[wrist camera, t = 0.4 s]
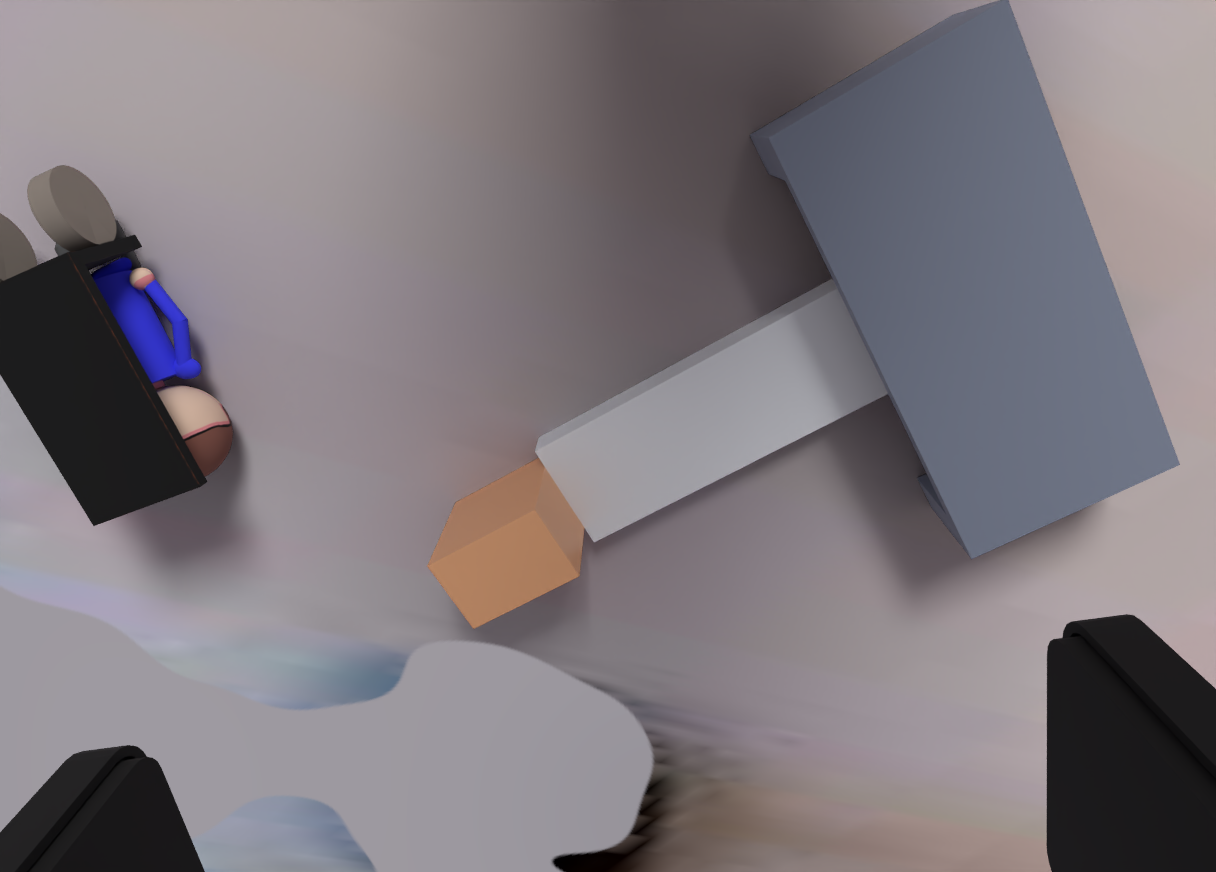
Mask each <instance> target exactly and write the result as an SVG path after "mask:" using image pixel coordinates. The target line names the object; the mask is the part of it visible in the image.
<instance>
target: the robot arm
mask: <svg viewBox="0 0 1216 872" xmlns="http://www.w3.org/2000/svg"><path fill="white" fill-rule="evenodd" d="M1047 854H1048V859H1049V864H1050V867H1051V870H1052V872H1216V689H1215V688H1214V687H1213V686H1212V685H1211V684H1210V683H1209V682H1208V681H1206V680H1205V679H1204V678H1203V677H1202V676H1201V675H1200V674H1199V673H1198V672H1197V671H1196V670H1194V669H1193V668H1192V667H1191V666H1190V665H1189V664H1188V663H1187V662H1186V661H1185V660H1184V659H1183V658H1181V657H1180V656H1179V655H1178V654H1177V653H1176V652H1175V651H1174V650H1173V649H1172V648H1171V647H1170V646H1168V645H1167V644H1166V643H1165V642H1164V641H1163V640H1162V639H1161V638H1160V637H1159V636H1158V635H1156V634H1155V633H1154V632H1153V631H1152V630H1151V629H1150V628H1149V627H1148V626H1147V625H1146V624H1145V623H1143V622H1142V621H1141V620H1140V619H1138V618H1137V617H1135V616H1134V615H1127V614H1126V615H1119V616H1111V617H1103V618H1096V619H1088V620H1080V621H1073V622H1070V623H1068V624H1067V625H1066V627H1065V629H1064V631H1063V638H1060V639H1053V640H1052V641H1050V643H1049V645H1048V651H1047ZM0 872H205V871H204V869H203V866H202V864H201V862H200V859H199V857H198V854H197V852H196V850H195V847H194V845H193V843H192V840H191V838H190V836H189V833H188V831H187V828H186V826H185V823H184V821H183V819H182V816H181V814H180V811H179V809H178V807H177V804H176V802H175V800H174V797H173V795H172V792H171V790H170V788H169V785H168V783H167V781H166V778H165V776H164V773H163V771H162V769H161V767H160V765H159V763H158V762H157V761H156V760H155V759H153V758H149V757H147V756H146V755H145V753H144V752H143V751H142V750H141V749H139V748H138V747H136V746H130V745H127V746H119V747H112V748H104V749H97V750H89V751H82V752H79V753H76V754H73V755H72V756H71V757H70V758H68V759H67V760H66V761H65V762H64V763H63V764H62V765H61V766H60V767H59V769H58V770H57V771H56V772H55V773H54V774H53V775H52V776H51V777H50V778H49V779H48V781H47V782H46V783H45V784H44V785H43V786H42V787H41V788H40V789H39V790H38V792H37V793H36V794H35V795H34V796H33V797H32V798H31V799H30V800H29V801H28V803H27V804H26V805H25V806H24V807H23V808H22V809H21V810H20V811H19V812H18V814H17V815H16V816H15V817H14V818H13V819H12V820H11V821H10V822H9V823H8V825H7V826H6V827H5V828H4V829H3V830H2V831H1V832H0Z"/></svg>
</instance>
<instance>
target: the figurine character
mask: <svg viewBox="0 0 1216 872" xmlns="http://www.w3.org/2000/svg"><path fill="white" fill-rule="evenodd" d="M27 194H28V200H29V204H30V207H31V210H32V212H33V214H34V216H35V218H36V220H37V221H38V223H39V224H40V226H41V227H42V228H43V230H44V231H45V232H46V233H47V234H48V235H49V237H50V238H51V239H53V240H54V241H55V242H56V245H55V251H56V253H57V255H58V257H56V258H53V259H51V260H49V261H47V262H44V263H42V264H40V265H38V266H37V260H36V256H35V253H34V251H33V248H32V246H31V245H30V243H29V241H28V239H27V238H26V237H25V235H24V234H23V233H22V231H21V230H20V229H19V228H18V227H17V226H16V225H15V224H14V223H13V222H12V221H11V220H9V219H8V218H7V217H5V216H4V215H2V214H0V375H1V376H2V378H3V380H4V381H5V383H6V385H7V386H8V388H9V389H10V391H11V393H12V394H13V396H14V397H15V399H16V401H17V402H18V404H19V406H20V407H21V409H22V410H23V412H24V414H25V415H26V417H27V419H28V420H29V422H30V423H31V425H32V427H33V428H34V430H35V432H36V433H37V435H38V436H39V438H40V440H41V441H42V443H43V445H44V446H45V448H46V449H47V451H48V453H49V454H50V456H51V458H52V459H53V461H54V462H55V464H56V466H57V467H58V469H59V471H60V472H61V474H62V475H63V477H64V479H65V480H66V482H67V484H68V485H69V487H70V488H71V490H72V492H73V493H74V495H75V497H76V498H77V500H78V501H79V503H80V505H81V506H82V508H83V510H84V511H85V513H86V514H87V516H88V518H89V519H90V521H91V522H92V524H93V526H95V525H98V524H101V523H103V522H106V521H109V520H111V519H114V518H117V517H119V516H122V515H125V514H128V513H130V512H133V511H136V510H138V509H141V508H144V507H147V506H149V505H152V504H155V503H157V502H160V501H163V500H166V499H168V498H171V497H174V496H176V495H179V494H182V493H185V492H187V491H190V490H193V489H195V488H198V487H201V486H202V485H204V484H205V483H206V482H207V480H206V478H205V476H207V475H209V474H210V473H212V472H213V471H214V470H216V469H217V468H218V467H219V466H220V465H221V464H222V462H223V461H224V460H225V458H226V457H227V455H228V453H229V450H230V448H231V444H232V438H233V429H232V424H231V420H230V418H229V415H228V413H227V412H226V410H225V408H224V407H223V406H222V405H221V403H220V402H219V401H218V400H216V399H215V398H214V397H213V396H211V395H210V394H208V393H206V392H204V391H202V390H200V389H197V388H193V387H189V386H167V387H163V386H165V384H164V382H163V381H165V380H167V379H170V378H172V377H174V376H177V377H179V378H182V379H192V378H195V377H197V376H198V375H199V374H200V372H201V366H200V364H199V363H198V362H197V361H196V360H194V359H192V358H191V348H190V338H189V328H188V320H187V318H186V317H185V316H184V314H183V313H182V312H181V311H180V309H179V308H178V307H177V306H176V304H175V303H174V302H173V301H172V299H171V298H170V297H169V296H168V294H167V293H166V292H165V291H164V289H163V288H162V287H161V286H160V284H159V283H158V282H157V281H156V280H155V277H154V275H153V273H152V272H151V271H150V270H148V269H146V268H141V265H140V263H139V261H138V259H137V257H136V255H135V253H134V251H133V250H136V249H138V248H140V247H142V246H141V244H140V242H139V241H138V239H137V237H136V236H135V235H132V236H129V237H126V236H125V234H124V232H123V230H122V228H121V227H120V225H119V223H118V221H116V220H115V217H114V214H113V212H112V209H111V207H110V205H109V203H108V201H107V200H106V198H105V197H104V195H103V194H102V192H101V191H100V190H99V188H98V187H97V186H96V185H95V184H94V183H93V182H92V181H91V180H90V179H89V178H88V177H87V176H85V175H84V174H83V173H81V172H80V171H78V170H76V169H74V168H72V167H69V166H64V165H61V166H57V167H55V168H53V169H50V170H48V171H46V172H44V173H42V174H40V175H38V176H36V177H34V178H32V179H31V180H30V182H29V184H28V189H27ZM120 256H121V257H122V258H120V259H118V260H116V261H114V262H112V263H110V264H108V265H106V266H104V267H102V268H100V269H98V270H96V271H95V272H93V273H92V274H90V272H89V270H90V269H92V268H95V267H97V266H99V265H102V264H104V263H106V262H108V261H111V260H113V259H115V258H117V257H120ZM144 290H145V291H146V292H147V293H148V295H149V296H150V297H151V298H152V300H153V301H154V302H155V303H156V305H157V306H158V307H159V308H160V310H161V311H162V312H163V313H164V315H165V316H166V317H167V318H168V320H169V321H170V322H171V323H172V327H173V337H174V347H175V349H174V347H173V345H172V343H171V342H170V340H169V338H168V336H167V334H166V332H165V330H164V328H163V326H162V325H161V323H160V321H159V319H158V317H157V315H156V313H155V311H154V309H153V308H152V306H151V304H150V302H149V300H148V298H147V296H146V294H145V292H144ZM161 387H162V388H161Z"/></svg>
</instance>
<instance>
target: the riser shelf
mask: <svg viewBox="0 0 1216 872" xmlns="http://www.w3.org/2000/svg"><path fill="white" fill-rule="evenodd" d="M750 137H751V139H752V141H753V143H754V145H755V147H756V149H757V152H758V154H759V156H760V158H761V160H762V162H763V164H764V166H765V168H766V170H767V172H768V174H770V175H772V176H775V177H777V178H780V179H782V180H785V181H786V183H787V186H788V188H789V190H790V192H791V194H792V196H793V198H794V200H795V202H796V204H797V206H798V208H799V210H800V212H801V215H802V217H803V219H804V221H805V223H806V225H807V227H808V229H809V231H810V233H811V235H812V237H813V239H814V241H815V243H816V246H817V248H818V250H819V252H820V254H821V256H822V258H823V260H824V262H825V264H826V266H827V268H828V270H829V272H830V275H831V277H832V279H833V281H834V283H835V285H836V287H837V289H838V291H839V293H840V295H841V297H842V299H843V301H844V303H845V306H846V308H847V310H848V312H849V314H850V316H851V318H852V320H853V322H854V324H855V326H856V328H857V330H858V332H859V335H860V337H861V339H862V341H863V343H864V345H865V347H866V349H867V351H868V353H869V355H870V357H871V359H872V361H873V363H874V366H875V368H876V370H877V372H878V374H879V376H880V378H881V380H882V382H883V384H884V386H885V388H886V390H887V392H888V395H889V397H890V399H891V401H892V403H893V405H894V407H895V409H896V411H897V413H898V415H899V417H900V419H901V421H902V423H903V426H904V428H905V430H906V432H907V434H908V436H909V438H910V440H911V442H912V444H913V446H914V448H915V450H916V452H917V455H918V457H919V459H920V461H921V463H922V465H923V467H924V469H925V471H926V473H927V474H925V475H923V476H920V477H918V478H917V479H918V481H919V483H920V485H921V487H922V489H923V491H924V493H925V495H926V497H927V499H928V501H929V504H930V506H931V508H932V509H933V510H934V511H935V513H936V514H937V515H938V517H939V518H940V519H941V520H942V522H943V523H944V524H945V526H946V527H947V528H948V529H949V531H950V532H951V533H952V535H953V536H954V537H955V538H956V540H957V541H958V542H959V544H960V545H961V546H962V547H963V549H964V550H965V551H966V553H967V554H968V555H969V556H970V558H971V559H973V558H975V557H978V556H980V555H982V554H984V553H986V552H989V551H991V550H993V549H995V548H997V547H1000V546H1002V545H1004V544H1006V543H1008V542H1011V541H1013V540H1015V539H1017V538H1019V537H1022V536H1024V535H1026V534H1028V533H1030V532H1033V531H1035V530H1037V529H1039V528H1041V527H1044V526H1046V525H1048V524H1050V523H1052V522H1055V521H1057V520H1059V519H1061V518H1063V517H1066V516H1068V515H1070V514H1072V513H1074V512H1077V511H1079V510H1081V509H1083V508H1085V507H1088V506H1090V505H1092V504H1094V503H1097V502H1099V501H1101V500H1103V499H1105V498H1108V497H1110V496H1112V495H1114V494H1116V493H1119V492H1121V491H1123V490H1125V489H1127V488H1130V487H1132V486H1134V485H1136V484H1138V483H1141V482H1143V481H1145V480H1147V479H1149V478H1152V477H1154V476H1156V475H1158V474H1160V473H1163V472H1165V471H1167V470H1169V469H1171V468H1174V467H1176V466H1178V465H1180V464H1179V461H1178V458H1177V456H1176V453H1175V450H1174V447H1173V445H1172V442H1171V439H1170V437H1169V434H1168V431H1167V429H1166V426H1165V423H1164V420H1163V418H1162V415H1161V412H1160V410H1159V407H1158V404H1157V401H1156V399H1155V396H1154V393H1153V391H1152V388H1151V385H1150V382H1149V380H1148V377H1147V374H1146V372H1145V369H1144V366H1143V364H1142V361H1141V358H1140V355H1139V353H1138V350H1137V347H1136V345H1135V342H1134V339H1133V336H1132V334H1131V331H1130V328H1129V326H1128V323H1127V320H1126V318H1125V315H1124V312H1123V309H1122V307H1121V304H1120V301H1119V299H1118V296H1117V293H1116V290H1115V288H1114V285H1113V282H1112V280H1111V277H1110V274H1109V271H1108V269H1107V266H1106V263H1105V261H1104V258H1103V255H1102V253H1101V250H1100V247H1099V244H1098V242H1097V239H1096V236H1095V234H1094V231H1093V228H1092V225H1091V223H1090V220H1089V217H1088V215H1087V212H1086V209H1085V207H1084V204H1083V201H1082V198H1081V196H1080V193H1079V190H1078V188H1077V185H1076V182H1075V179H1074V177H1073V174H1072V171H1071V169H1070V166H1069V163H1068V161H1067V158H1066V155H1065V152H1064V150H1063V147H1062V144H1061V142H1060V139H1059V136H1058V133H1057V131H1056V128H1055V125H1054V123H1053V120H1052V117H1051V114H1050V112H1049V109H1048V106H1047V104H1046V101H1045V98H1044V96H1043V93H1042V90H1041V87H1040V85H1039V82H1038V79H1037V77H1036V74H1035V71H1034V68H1033V66H1032V63H1031V60H1030V58H1029V55H1028V52H1027V50H1026V47H1025V44H1024V41H1023V39H1022V36H1021V33H1020V31H1019V28H1018V25H1017V22H1016V20H1015V17H1014V14H1013V12H1012V9H1011V6H1010V4H1009V1H1008V0H999V1H996V2H992V3H989V4H986V5H983V6H980V7H977V8H973V9H970V10H967V11H964V12H961V13H958V14H954V15H952V16H950V17H949V18H947V19H945V20H943V21H942V22H940V23H938V24H937V25H935V26H933V27H932V28H930V29H928V30H927V31H925V32H923V33H921V34H920V35H918V36H916V37H915V38H913V39H911V40H910V41H908V42H906V43H905V44H903V45H901V46H899V47H898V48H896V49H894V50H893V51H891V52H889V53H888V54H886V55H884V56H883V57H881V58H879V59H877V60H876V61H874V62H872V63H871V64H869V65H867V66H866V67H864V68H862V69H861V70H859V71H857V72H855V73H854V74H852V75H850V76H849V77H847V78H845V79H844V80H842V81H840V82H839V83H837V84H835V85H833V86H832V87H830V88H828V89H827V90H825V91H823V92H822V93H820V94H818V95H817V96H815V97H813V98H811V99H810V100H808V101H806V102H805V103H803V104H801V105H800V106H798V107H796V108H795V109H793V110H791V111H789V112H788V113H786V114H784V115H783V116H781V117H779V118H778V119H776V120H774V121H772V122H771V123H769V124H767V125H766V126H764V127H762V128H761V129H759V130H757V131H756V132H754V133H752V134H750Z"/></svg>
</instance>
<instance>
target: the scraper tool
mask: <svg viewBox="0 0 1216 872" xmlns="http://www.w3.org/2000/svg"><path fill="white" fill-rule="evenodd" d="M887 394H888V392H887V390H886V388H885V386H884V384H883V382H882V380H881V378H880V376H879V374H878V372H877V370H876V368H875V366H874V363H873V361H872V359H871V357H870V355H869V353H868V351H867V349H866V347H865V345H864V343H863V341H862V339H861V337H860V335H859V332H858V330H857V328H856V326H855V324H854V322H853V320H852V318H851V316H850V314H849V312H848V310H847V308H846V306H845V303H844V301H843V299H842V297H841V295H840V293H839V291H838V289H837V287H836V285H835V283H834V281H833V280H832V279H830V280H828V281H827V282H825V283H823V284H821V285H819V286H817V287H816V288H814V289H812V290H810V291H808V292H806V293H804V294H803V295H801V296H799V297H797V298H795V299H793V300H792V301H790V302H788V303H786V304H784V305H782V306H780V307H779V308H777V309H775V310H773V311H771V312H769V313H768V314H766V315H764V316H762V317H760V318H758V319H756V320H755V321H753V322H751V323H749V324H747V325H745V326H744V327H742V328H740V329H738V330H736V331H734V332H732V333H731V334H729V335H727V336H725V337H723V338H721V339H720V340H718V341H716V342H714V343H712V344H710V345H708V346H707V347H705V348H703V349H701V350H699V351H697V352H696V353H694V354H692V355H690V356H688V357H686V358H684V359H683V360H681V361H679V362H677V363H675V364H673V365H672V366H670V367H668V368H666V369H664V370H662V371H660V372H659V373H657V374H655V375H653V376H651V377H649V378H648V379H646V380H644V381H642V382H640V383H638V384H636V385H635V386H633V387H631V388H629V389H627V390H625V391H624V392H622V393H620V394H618V395H616V396H614V397H612V398H611V399H609V400H607V401H605V402H603V403H601V404H600V405H598V406H596V407H594V408H592V409H590V410H588V411H587V412H585V413H583V414H581V415H579V416H577V417H576V418H574V419H572V420H570V421H568V422H566V423H564V424H563V425H561V426H559V427H557V428H555V429H553V430H552V431H550V432H548V433H546V434H544V435H542V436H540V437H539V438H538V442H537V445H536V449H535V453H536V454H537V456H538V457H539V458H537V459H536V460H534V461H532V462H530V463H528V464H526V465H524V466H523V467H521V468H519V469H517V470H515V471H513V472H511V473H509V474H508V475H506V476H504V477H502V478H500V479H498V480H496V481H495V482H493V483H491V484H489V485H487V486H485V487H483V488H482V489H480V490H478V491H476V492H474V493H472V494H470V495H468V496H467V497H465V498H463V499H461V500H459V501H457V502H456V503H455V505H454V507H453V509H452V512H451V514H450V516H449V518H448V521H447V523H446V525H445V527H444V529H443V532H442V534H441V536H440V538H439V541H438V543H437V545H436V547H435V550H434V552H433V554H432V556H431V559H430V561H429V563H428V565H427V566H428V568H429V569H430V571H431V572H432V573H433V575H434V576H435V577H436V579H437V580H438V581H439V583H440V584H441V586H442V587H443V588H444V590H445V591H446V592H447V594H448V595H449V596H450V598H451V599H452V600H453V602H454V603H455V605H456V606H457V607H458V609H459V610H460V611H461V613H462V614H463V615H464V617H465V618H466V619H467V621H468V622H469V624H470V625H471V626H472V628H473V629H475V628H477V627H479V626H481V625H483V624H485V623H487V622H489V621H491V620H493V619H495V618H497V617H499V616H501V615H503V614H505V613H507V612H509V611H511V610H513V609H515V608H517V607H519V606H521V605H523V604H525V603H527V602H529V601H531V600H533V599H535V598H537V597H539V596H541V595H543V594H545V593H547V592H549V591H551V590H553V589H555V588H557V587H559V586H561V585H563V584H565V583H567V582H569V581H571V580H573V579H575V578H577V577H579V576H580V566H581V557H582V547H583V537H584V528H585V529H586V531H587V532H588V534H589V536H590V537H591V539H592V540H593V542H596V541H598V540H600V539H602V538H604V537H606V536H608V535H610V534H612V533H614V532H616V531H618V530H620V529H622V528H624V527H626V526H628V525H630V524H632V523H634V522H636V521H638V520H640V519H642V518H644V517H646V516H648V515H650V514H652V513H653V512H655V511H657V510H659V509H661V508H663V507H665V506H667V505H669V504H671V503H673V502H675V501H677V500H679V499H681V498H683V497H685V496H687V495H689V494H691V493H693V492H695V491H697V490H699V489H701V488H703V487H705V486H707V485H709V484H711V483H713V482H715V481H717V480H719V479H721V478H723V477H725V476H727V475H729V474H731V473H733V472H735V471H737V470H739V469H741V468H743V467H745V466H746V465H748V464H750V463H752V462H754V461H756V460H758V459H760V458H762V457H764V456H766V455H768V454H770V453H772V452H774V451H776V450H778V449H780V448H782V447H784V446H786V445H788V444H790V443H792V442H794V441H796V440H798V439H800V438H802V437H804V436H806V435H808V434H810V433H812V432H814V431H816V430H818V429H820V428H822V427H824V426H826V425H828V424H830V423H832V422H834V421H836V420H837V419H839V418H841V417H843V416H845V415H847V414H849V413H851V412H853V411H855V410H857V409H859V408H861V407H863V406H865V405H867V404H869V403H871V402H873V401H875V400H877V399H879V398H881V397H883V396H885V395H887Z"/></svg>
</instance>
